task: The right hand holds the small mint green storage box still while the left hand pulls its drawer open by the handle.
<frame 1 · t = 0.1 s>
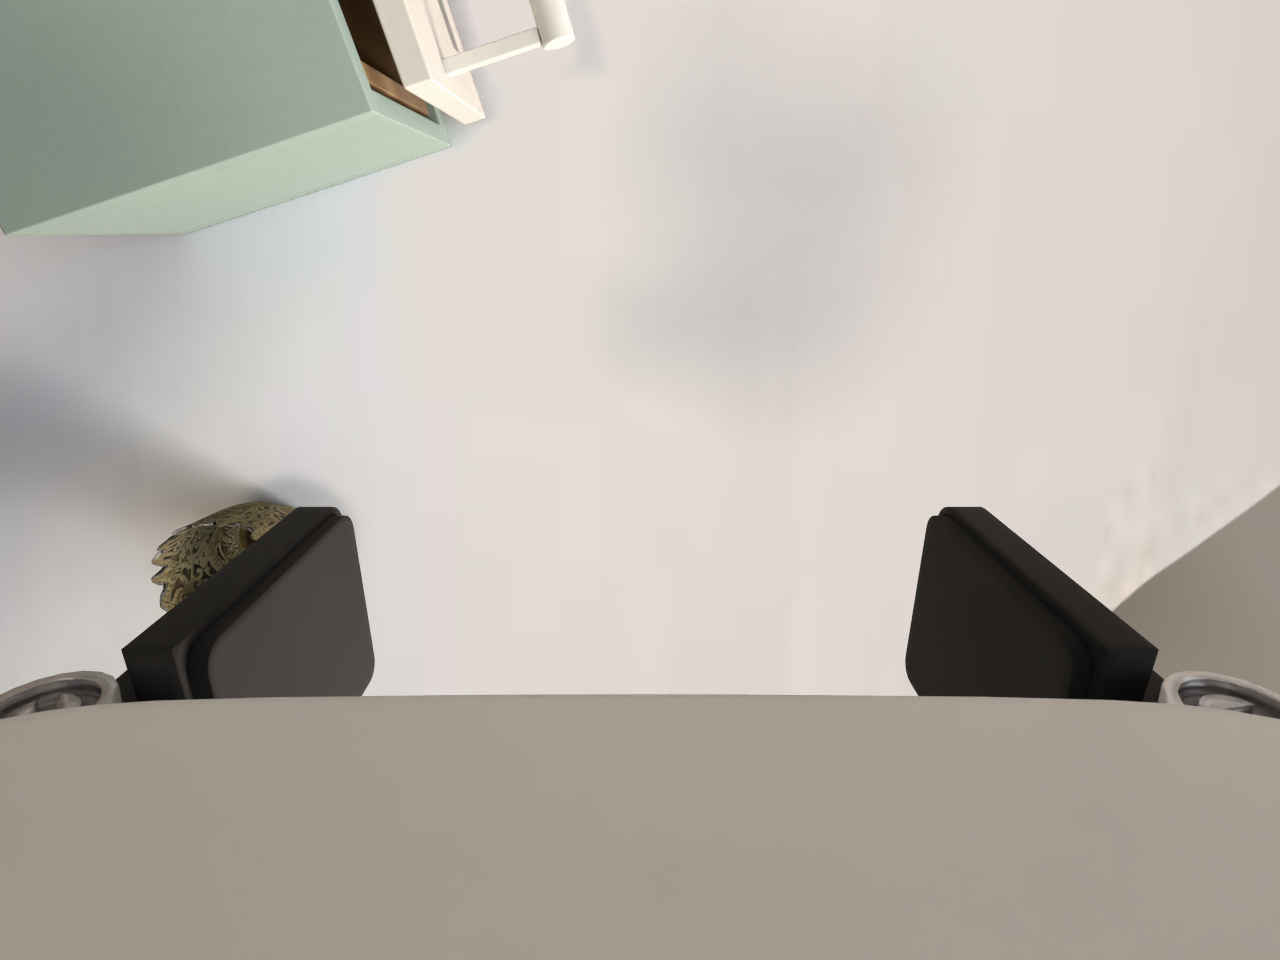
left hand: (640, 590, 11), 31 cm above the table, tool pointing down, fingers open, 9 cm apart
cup: (291, 525, 45), on the table
mint green storage box: (271, 82, 36), on the table
drawer: (324, 12, 30), point 6 cm above the table, slide at 1.2 cm
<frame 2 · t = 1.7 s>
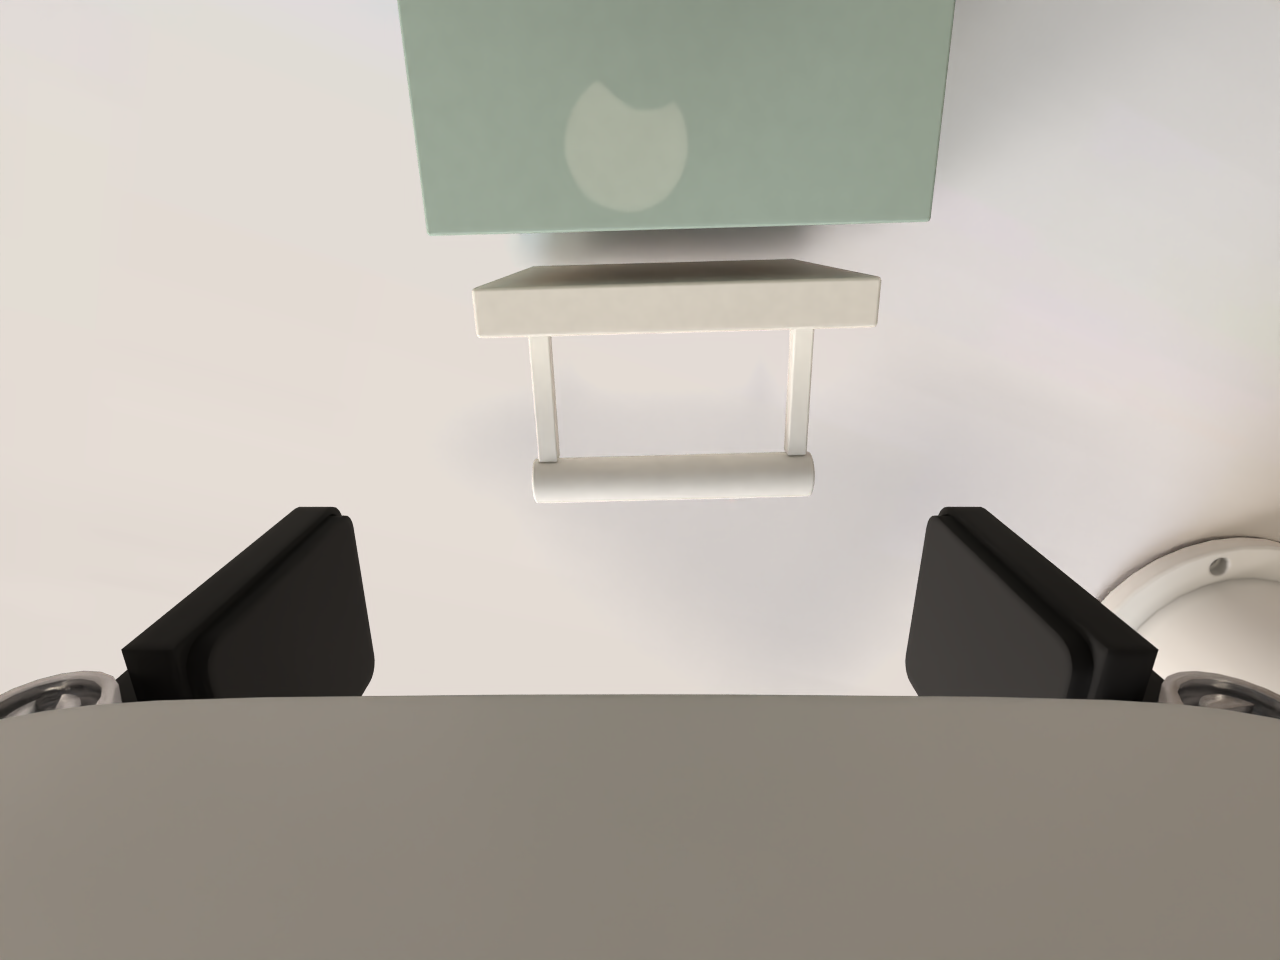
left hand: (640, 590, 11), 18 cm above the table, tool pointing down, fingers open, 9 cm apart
drawer: (666, 148, 20), point 6 cm above the table, slide at 1.2 cm
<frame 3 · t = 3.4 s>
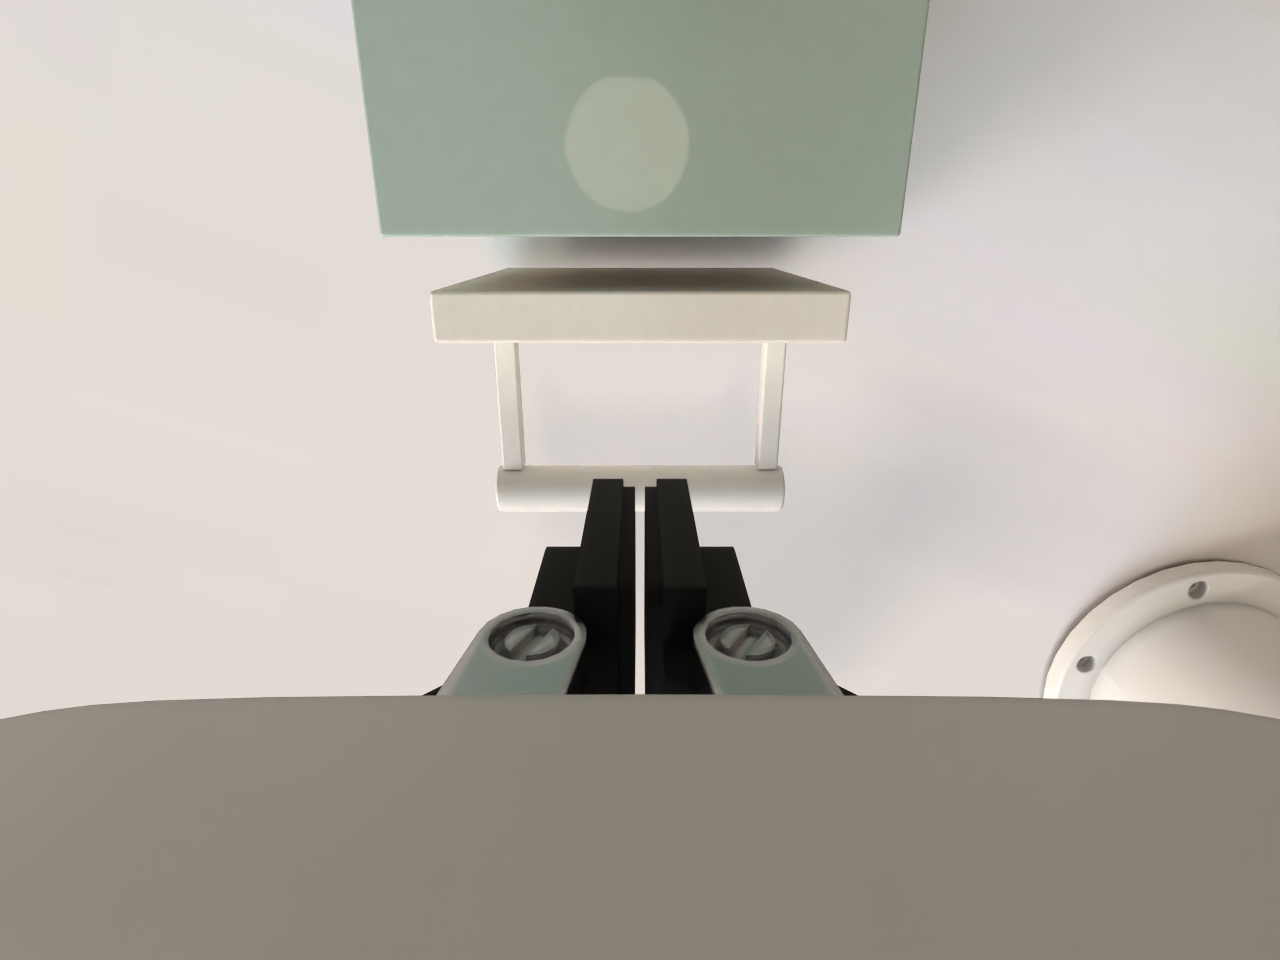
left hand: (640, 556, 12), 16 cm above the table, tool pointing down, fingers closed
drawer: (640, 151, 19), point 6 cm above the table, slide at 1.2 cm
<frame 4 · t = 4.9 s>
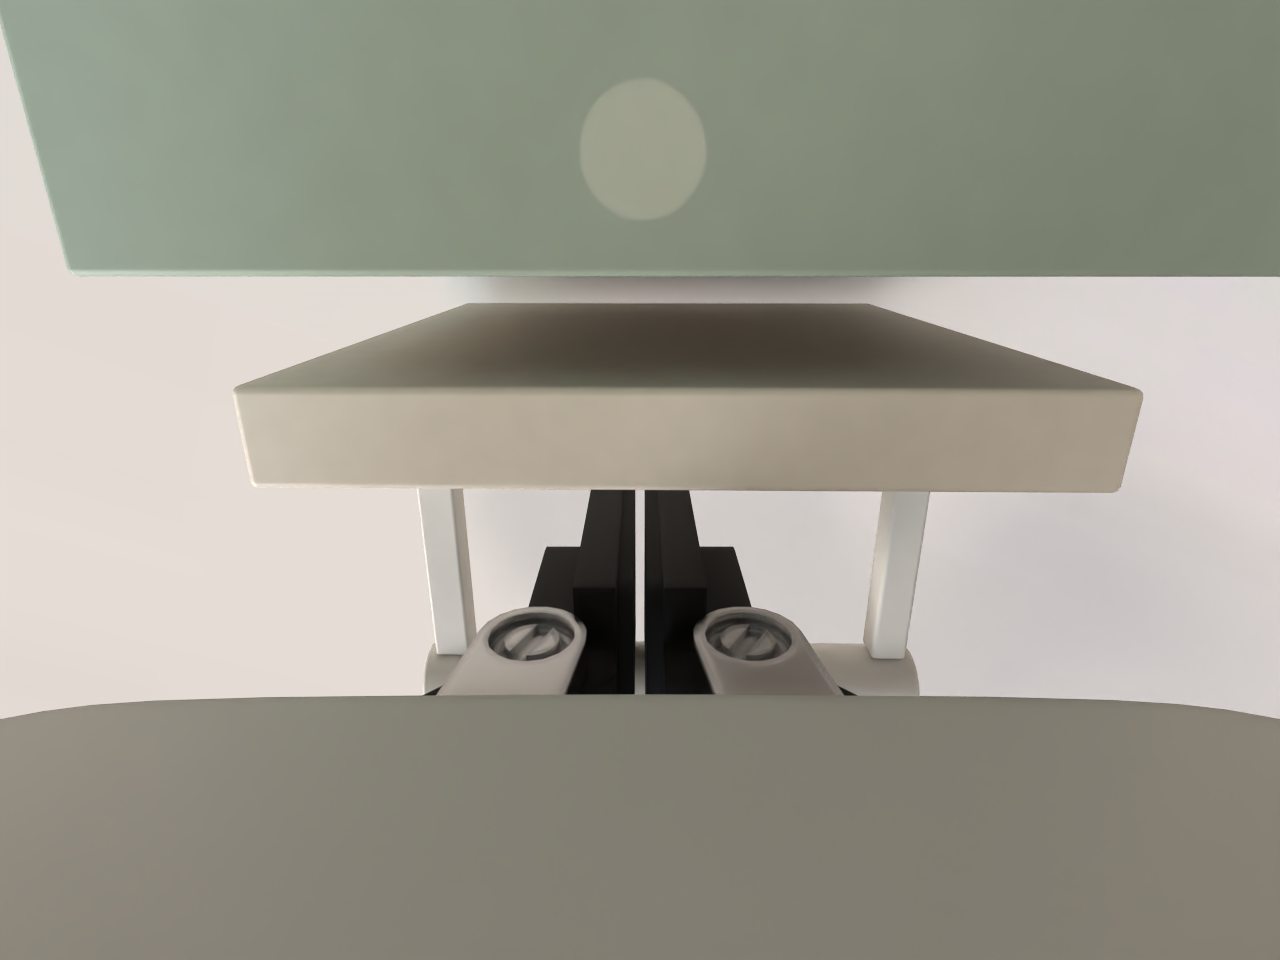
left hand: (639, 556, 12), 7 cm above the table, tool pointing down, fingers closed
drawer: (674, 111, 11), point 6 cm above the table, slide at 1.2 cm, touching left hand
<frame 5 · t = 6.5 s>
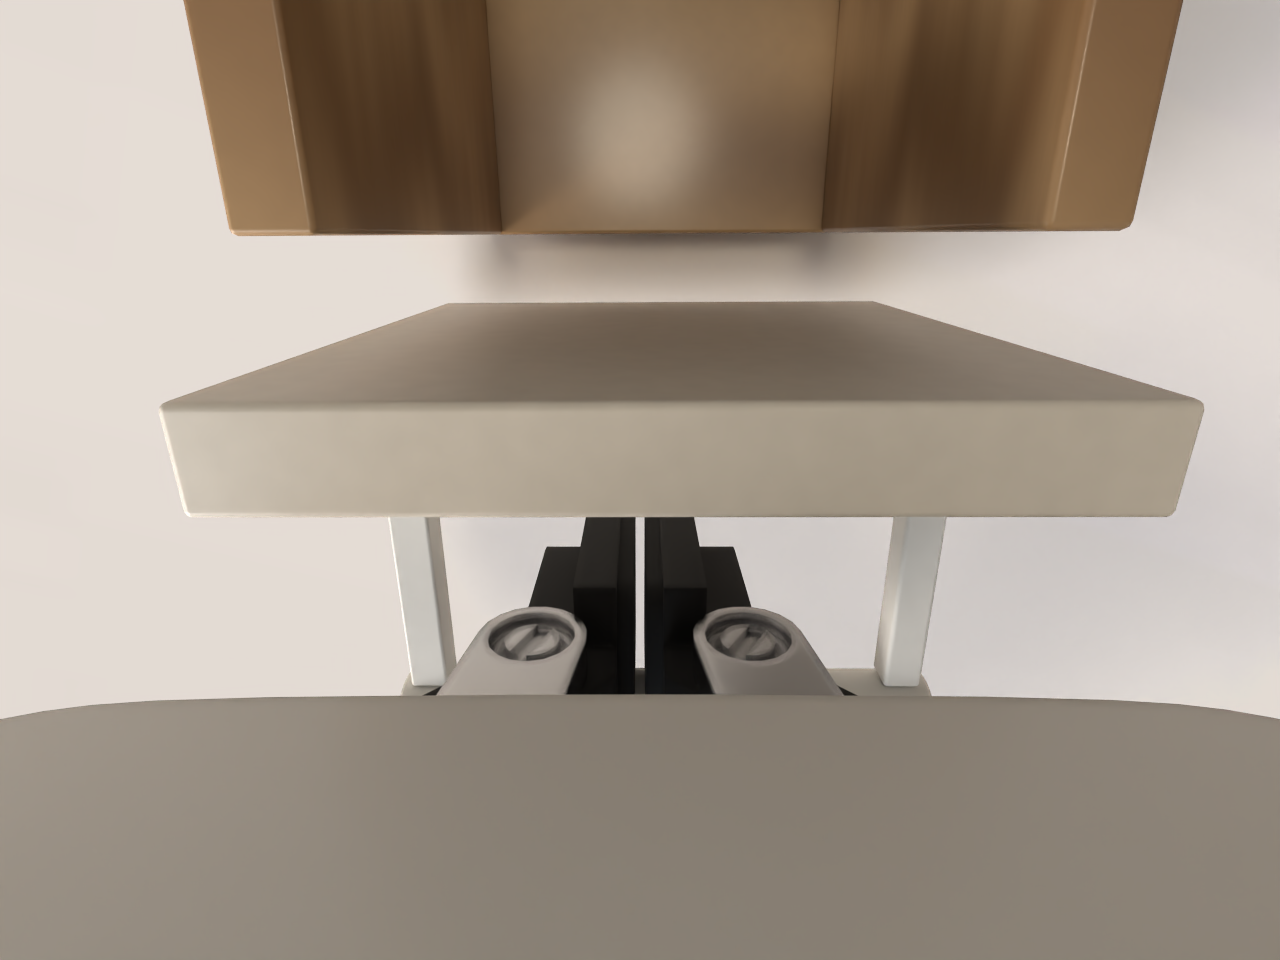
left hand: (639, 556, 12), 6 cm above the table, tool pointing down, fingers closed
drawer: (666, 91, 10), point 6 cm above the table, slide at 8.4 cm, touching left hand
when the right hand's fingers open (7 cm above the table, at t = 8.3 s): mint green storage box stays where it is, on the table.
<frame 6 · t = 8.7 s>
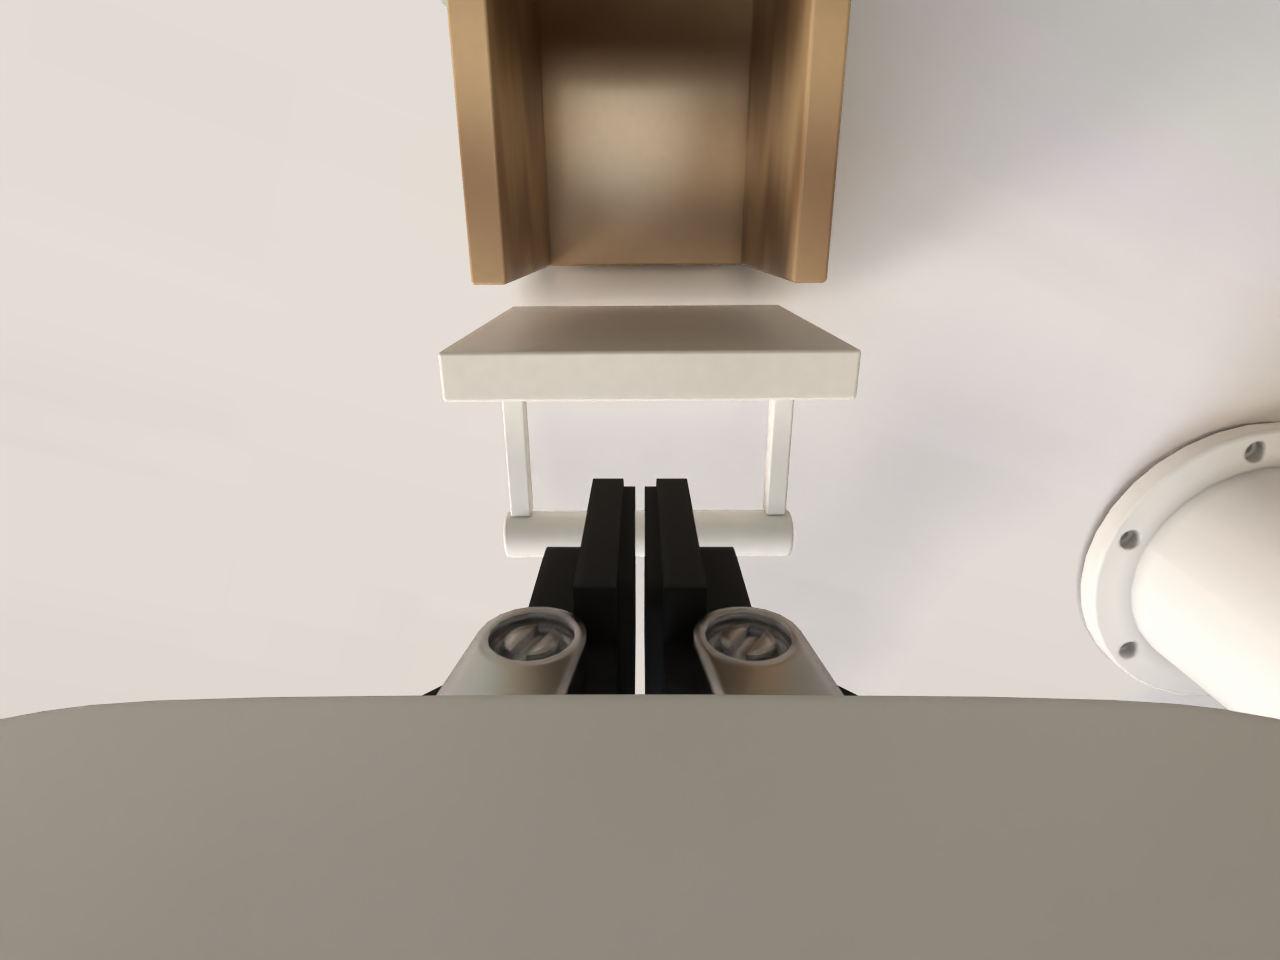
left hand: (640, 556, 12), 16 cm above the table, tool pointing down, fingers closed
drawer: (647, 200, 19), point 6 cm above the table, slide at 8.4 cm
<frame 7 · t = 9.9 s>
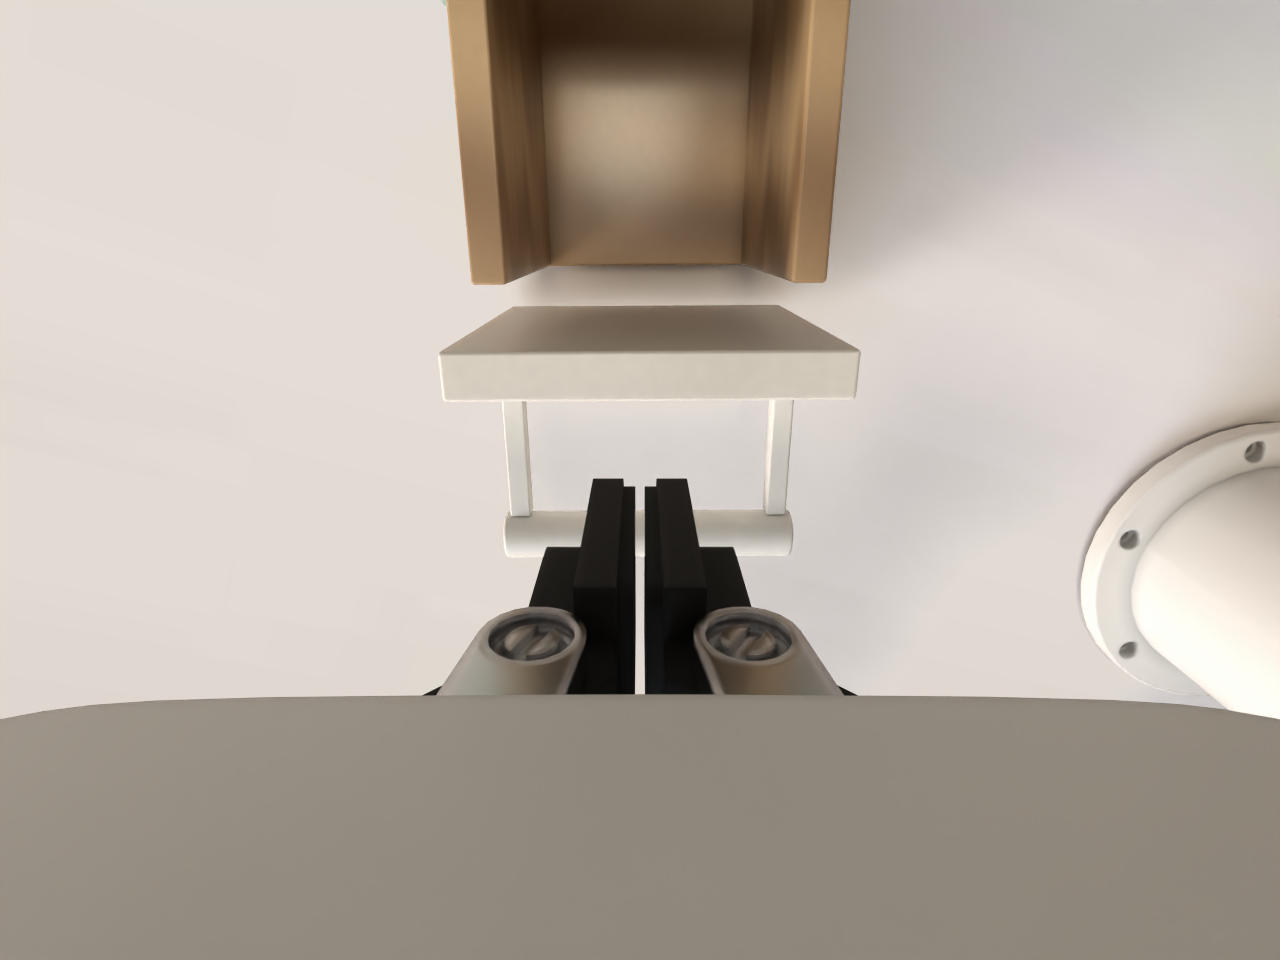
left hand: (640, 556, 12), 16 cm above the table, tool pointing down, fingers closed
drawer: (646, 200, 19), point 6 cm above the table, slide at 8.4 cm
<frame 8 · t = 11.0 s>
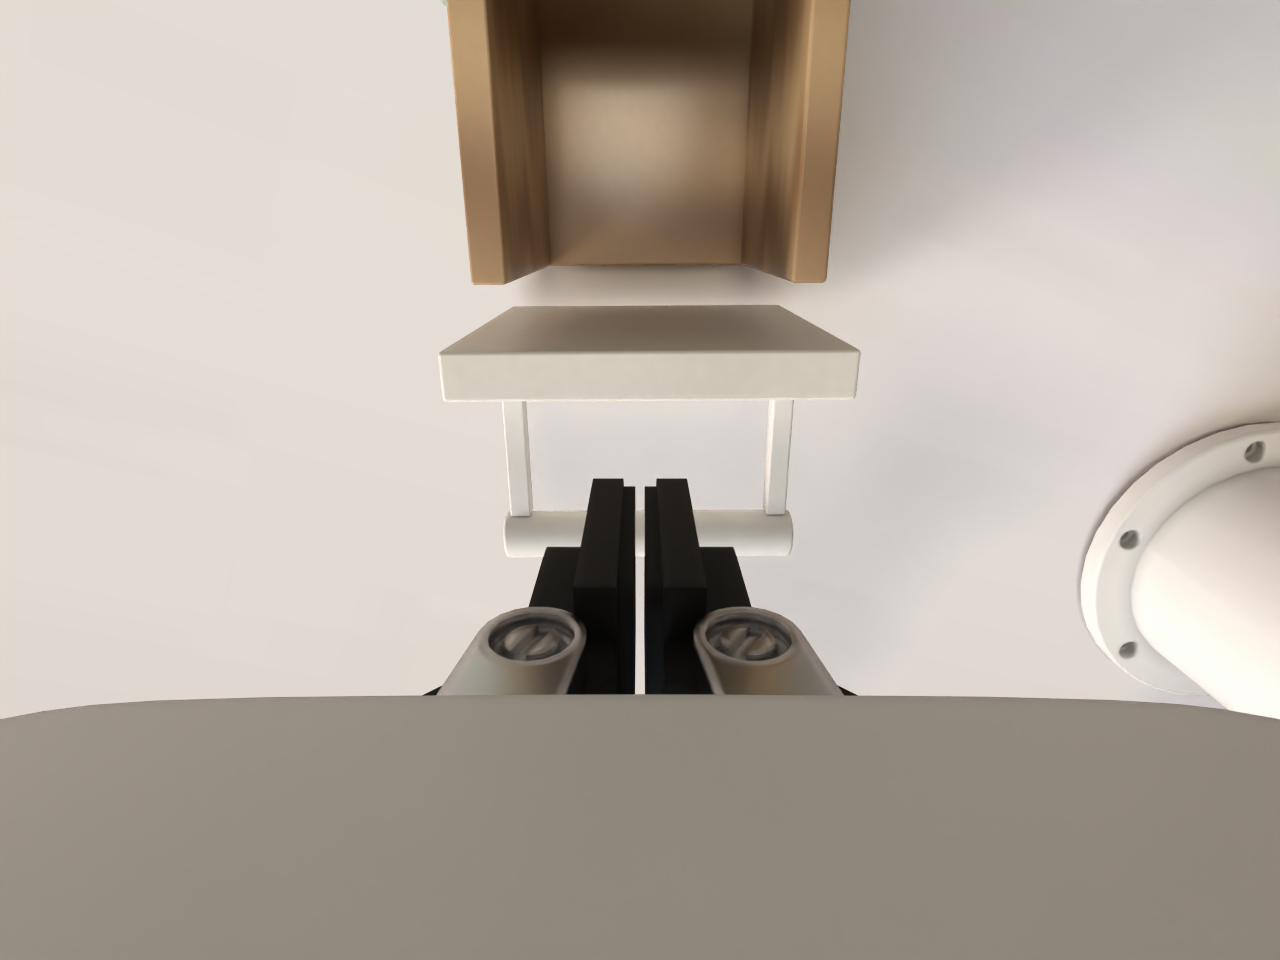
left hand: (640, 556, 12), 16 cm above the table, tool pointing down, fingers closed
drawer: (646, 200, 19), point 6 cm above the table, slide at 8.4 cm
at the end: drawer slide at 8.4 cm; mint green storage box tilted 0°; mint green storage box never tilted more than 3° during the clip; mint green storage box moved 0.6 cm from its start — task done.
